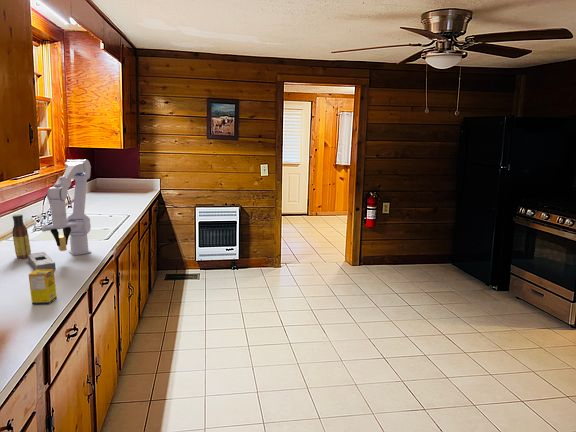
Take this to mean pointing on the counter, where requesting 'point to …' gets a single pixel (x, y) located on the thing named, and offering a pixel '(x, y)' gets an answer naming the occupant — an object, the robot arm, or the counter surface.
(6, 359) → the counter surface
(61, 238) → the tan wooden block
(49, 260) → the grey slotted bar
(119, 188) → the counter surface
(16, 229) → the sauce bottle
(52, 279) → the supplement box
